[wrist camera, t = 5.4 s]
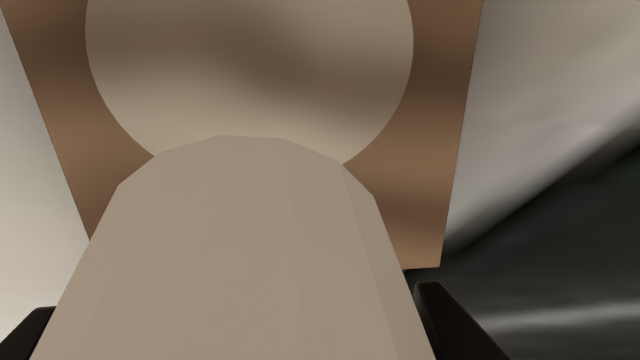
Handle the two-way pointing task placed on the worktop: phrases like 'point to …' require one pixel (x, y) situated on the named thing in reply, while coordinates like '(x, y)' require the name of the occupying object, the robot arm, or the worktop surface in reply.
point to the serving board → (258, 91)
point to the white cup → (238, 264)
